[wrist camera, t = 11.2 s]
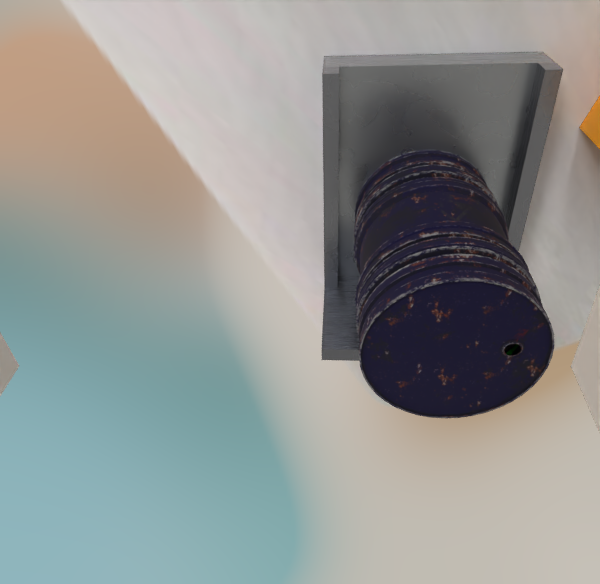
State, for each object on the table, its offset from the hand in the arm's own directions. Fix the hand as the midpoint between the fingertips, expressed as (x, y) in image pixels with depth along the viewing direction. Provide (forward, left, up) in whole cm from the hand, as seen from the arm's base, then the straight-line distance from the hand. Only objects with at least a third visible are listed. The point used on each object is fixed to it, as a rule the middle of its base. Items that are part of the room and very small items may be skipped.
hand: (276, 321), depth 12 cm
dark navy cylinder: (+12, +7, -27) cm, 30 cm away
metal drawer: (+10, +7, -29) cm, 32 cm away
